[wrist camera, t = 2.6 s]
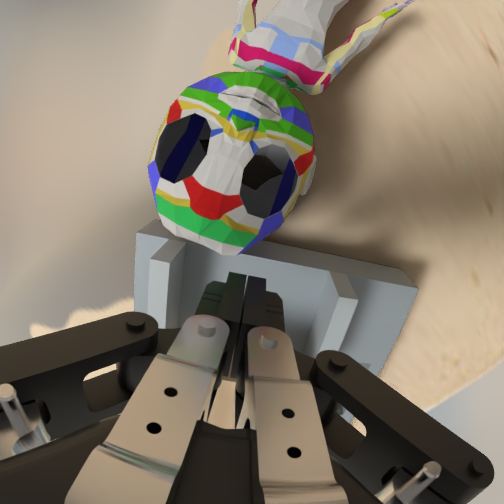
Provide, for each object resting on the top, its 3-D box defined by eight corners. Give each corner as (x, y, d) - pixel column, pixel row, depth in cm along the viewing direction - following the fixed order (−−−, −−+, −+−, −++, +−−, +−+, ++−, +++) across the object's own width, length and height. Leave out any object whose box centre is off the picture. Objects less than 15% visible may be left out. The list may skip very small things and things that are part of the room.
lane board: (401, 269, 20) (439, 313, 14) (323, 433, 26) (329, 483, 20) (154, 219, 20) (112, 250, 14) (149, 403, 26) (130, 450, 20)
